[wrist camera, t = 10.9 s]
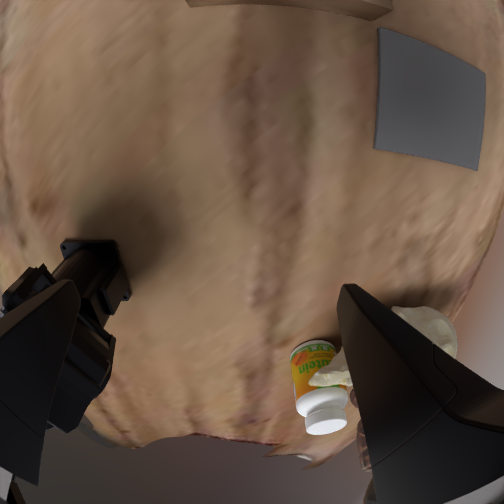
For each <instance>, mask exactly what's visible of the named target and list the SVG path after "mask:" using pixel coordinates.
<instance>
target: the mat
mask: <svg viewBox="0 0 504 504" xmlns="http://www.w3.org/2000/svg"><path fill="white" fill-rule="evenodd" d="M485 91H486V78H485V73H484V72H482V71H480V70H479V69H477V68H475V67H473V66H472V65H470V64H468V63H466V62H464V61H463V60H461V59H459V58H457V57H455V56H453V55H451V54H449V53H447V52H445V51H442V50H440V49H438V48H436V47H434V46H431V45H429V44H427V43H424V42H422V41H419V40H417V39H414V38H411V37H409V36H406V35H403V34H400V33H397V32H394V31H391V30H388V29H385V28H382V27H379V28H378V96H377V113H376V126H375V137H374V147H373V148H374V149H379V150H386V151H392V152H398V153H403V154H409V155H414V156H419V157H424V158H428V159H433V160H437V161H442V162H446V163H450V164H454V165H458V166H462V167H465V168H469V169H473V170H476V171H477V170H478V164H479V158H480V152H481V144H482V136H483V127H484V115H485Z"/></svg>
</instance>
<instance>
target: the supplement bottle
mask: <svg viewBox="0 0 504 504" xmlns="http://www.w3.org/2000/svg"><path fill="white" fill-rule="evenodd" d="M336 355H337V353H336V350H335V347H334V346H333V345H332V344H331V343H329V342H327V341H323V340H314V341H309V342H306V343H303V344H301V345H300V346H298V347H297V348H295V349H294V351H293V352H292V353H291V356H290V362H291V370H292V378H293V385H294V393H295V402H296V408H297V411H298V413H299V414H301V415H302V416H304V417H306V418H305V425H306V430H307V432H308V433H309V434H313V435H322V434H328V433H332V432H335V431H337V430H340V429H341V428H343V427H344V426H345V425H346V424H347V419H346V414H345V411H344V409H343V408H344V407H345V406H346V404H347V402H348V393H347V389H346V385H342V384H337V385H332V386H310V385H309V383H308V382H309V379H310V378H311V377H312V376H313V375H314V374H315V373H316V372H317V371H318V370H319V369H321V368H323V367H325V366H327V365H329V364H330V362H331V360H332V359H333V357H335V356H336Z"/></svg>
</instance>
